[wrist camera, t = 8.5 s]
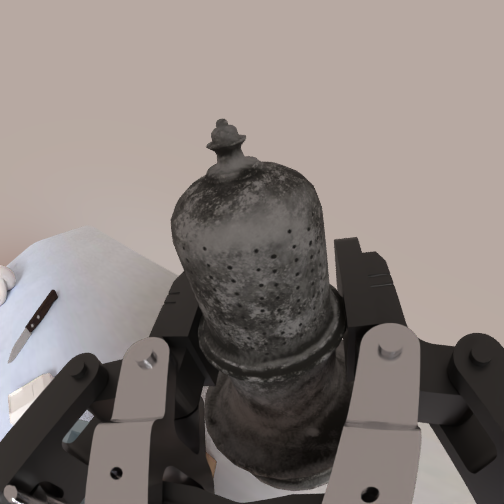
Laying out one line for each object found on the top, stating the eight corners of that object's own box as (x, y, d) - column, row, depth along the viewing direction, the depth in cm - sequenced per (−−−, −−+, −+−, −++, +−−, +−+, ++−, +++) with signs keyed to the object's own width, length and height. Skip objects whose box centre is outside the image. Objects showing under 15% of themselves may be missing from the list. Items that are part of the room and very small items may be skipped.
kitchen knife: (56, 296, 53) (51, 289, 52) (59, 296, 52) (54, 289, 51) (9, 366, 38) (2, 358, 37) (12, 367, 38) (5, 359, 37)
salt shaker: (242, 378, 14) (147, 123, 8) (365, 374, 13) (363, 83, 7) (219, 491, 10) (-15, 233, 3) (370, 494, 8) (493, 152, 2)
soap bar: (61, 404, 32) (49, 393, 30) (18, 429, 28) (6, 419, 26) (56, 380, 35) (45, 369, 34) (15, 405, 32) (4, 394, 30)
